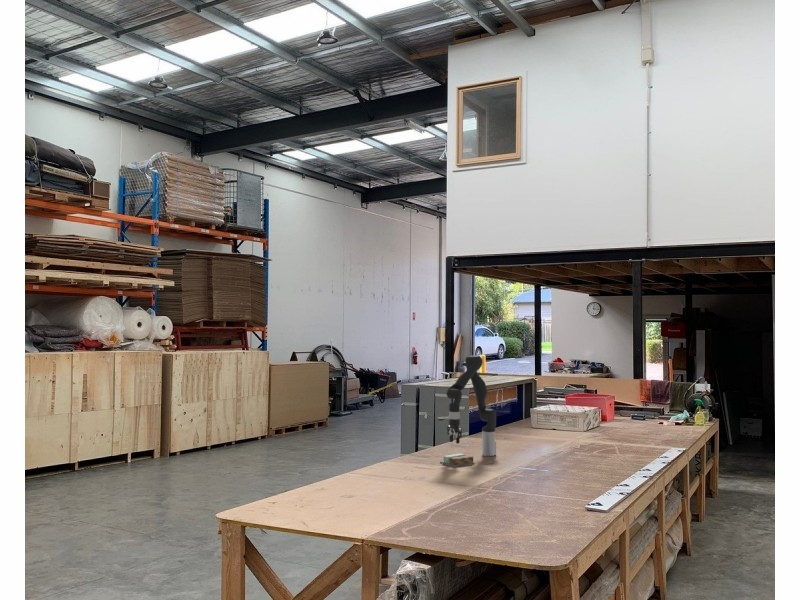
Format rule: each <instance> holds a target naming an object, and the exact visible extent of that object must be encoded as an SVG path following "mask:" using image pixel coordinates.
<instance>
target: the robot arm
mask: <svg viewBox="0 0 800 600" xmlns="http://www.w3.org/2000/svg"><path fill="white" fill-rule="evenodd" d="M482 366H483V358H482V356H480V355H467V356H466V358H465V367H466V369H467V370H465V371H464V372H462V374H460V376H458V378H457V379H456V381H455V382H454V383H453V384H452V385H451V386H450V387H449V388H447V391H446V397H447V398H448V399H451V400H453V401H452V402H449V404H448V426H447V427H446V428H447V429H446V430H447V431H446V433H447V435H448V437H449V442H450V443H453V440H454V435H455V443H456V445H457V444H460V438H462V435H463V433H462V432H463V431H462V430H463V428H460V427H459V426H460V425H461V414H460V407H461V406H460V405H461V400H462V398H463V397H462V396H463V392H462V391H463V390H464V389H465V387H466V386H467V384H468V382H469V381H470V380H471V384H472V388H473V392H474V395H475V399H476V403H477V406H478V409H477V410H478V414H479V418H480V420H481V421H483V422H486V425H484V426H482V428H481V436H482V438H481V442H482V444H481V445H482V447H481V449H482V451H481V455H482V456H483V457H484V456H485V457H494V455H495V456H496V455H497V442H496V428H497V412H496V410H495V409H493V408H487V405H486V399H487V395H488V388H487V385H486V382H485V381H484V379H483V378H482V377H481V376H480V374H479V373H478V371H479V370H480V368H482Z"/></svg>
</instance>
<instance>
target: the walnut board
mask: <svg viewBox="0 0 800 600" xmlns="http://www.w3.org/2000/svg"><path fill="white" fill-rule="evenodd" d="M473 462H474V456H473V455H469V454H468V455H466V456H460V457H452V458H450V464H452V465H459V464H467V463H473Z"/></svg>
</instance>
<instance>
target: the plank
mask: <svg viewBox="0 0 800 600" xmlns="http://www.w3.org/2000/svg"><path fill="white" fill-rule="evenodd" d="M460 456H467V455H466V454H465V453H455V454H454V453H453V454H449V455H443V456H442V459H443V460H442V461H443V462H445V463H450V458H452V457H460Z"/></svg>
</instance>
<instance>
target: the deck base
mask: <svg viewBox="0 0 800 600" xmlns="http://www.w3.org/2000/svg"><path fill="white" fill-rule="evenodd" d="M442 463H443V464H442ZM439 464H442V465H445V464H446V465H445V466H448V465H449V467H452V468H454V467H455V466H456V467H463V466H469V465H475V462H474V461H473V463H467V464H459V465H452V464H450V463H445V462H443V460H440V461H439ZM456 467H455V468H456Z"/></svg>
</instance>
